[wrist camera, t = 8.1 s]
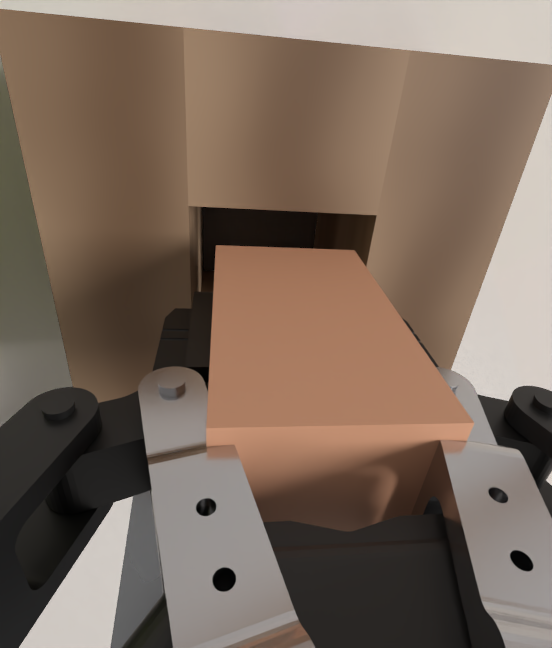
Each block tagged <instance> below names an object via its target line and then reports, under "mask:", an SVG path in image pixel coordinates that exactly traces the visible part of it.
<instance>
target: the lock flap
mask: <svg viewBox="0 0 552 648" xmlns="http://www.w3.org/2000/svg"><path fill="white" fill-rule="evenodd" d="M162 595H163V589H162V581H161V573H160V565H159V557H158V549H157V541H156V534H155V526H154V518H153V511H152V503H151V495H150V491H147V492H144V493H141V494H138V495H135V496H133V501H132V508H131V515H130V521H129V528H128V535H127V541H126V548H125V555H124V561H123V568H122V575H121V582H120V588H119V595H118V602H117V608H116V615H115V622H114V628H113V635H112V642H111V648H121V647H122V646H123V645H124V644H125V642H126V641H127V640H128V638H129V637H130V636H131V635H132V633H133V632H134V631H135V629H136V628H137V627H138V626H139V624H140V623H141V622H142V620H143V619H144V618H145V617H146V615H147V614H148V613H149V612H150V610H151V609H152V608H153V606H154V605H155V604H156V603H157V601H158V600H159V599H160V597H161V596H162Z"/></svg>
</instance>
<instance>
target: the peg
mask: <svg viewBox="0 0 552 648" xmlns="http://www.w3.org/2000/svg"><path fill="white" fill-rule="evenodd" d="M473 426H474V422H473V420H472V419H471V417H470V416H469V414H468V413H467V412H466V410H465V409H464V407H463V406H462V404H461V403H460V401H459V400H458V399H457V397H456V396H455V394H454V393H453V391H452V390H451V388H450V387H449V386H448V384H447V383H446V381H445V380H444V378H443V377H442V376H441V374H440V373H439V371H438V370H437V368H436V367H435V365H434V364H433V363H432V361H431V360H430V358H429V357H428V355H427V354H426V352H425V351H424V350H423V348H422V347H421V345H420V344H419V342H418V341H417V339H416V338H415V337H414V335H413V334H412V332H411V331H410V329H409V328H408V327H407V325H406V324H405V322H404V321H403V319H402V318H401V316H400V315H399V314H398V312H397V311H396V309H395V308H394V306H393V305H392V303H391V302H390V301H389V299H388V298H387V296H386V295H385V293H384V292H383V290H382V289H381V288H380V286H379V285H378V283H377V282H376V280H375V279H374V278H373V276H372V275H371V273H370V272H369V270H368V269H367V267H366V266H365V265H364V263H363V262H362V260H361V259H360V257H359V256H358V254H357V253H356V252H355V250H337V249H309V248H281V247H253V246H225V245H216V251H215V271H214V290H213V309H212V328H211V347H210V366H209V385H208V404H207V423H206V447H211V446H222V445H235V447H236V450H237V452H238V455H239V458H240V461H241V463H242V466H243V469H244V472H245V474H246V477H247V480H248V483H249V485H250V488H251V491H252V494H253V497H254V499H255V502H256V505H257V508H258V510H259V513H260V516H261V519H262V521H263V522H276V521H294V522H299V523H305V524H310V525H315V526H320V527H325V528H330V529H335V530H340V531H347V532H348V531H355V530H358V529H361V528H364V527H367V526H370V525H373V524H376V523H379V522H382V521H385V520H388V519H391V518H394V517H397V516H406V515H411V513H412V511H413V508H414V505H415V503H416V500H417V498H418V495H419V493H420V490H421V488H422V485H423V482H424V480H425V477H426V475H427V472H428V470H429V467H430V464H431V462H432V459H433V457H434V454H435V452H436V449H437V447H438V444H439V441H440V440H455V441H467V439H468V437H469V435H470V432H471V430H472V428H473Z"/></svg>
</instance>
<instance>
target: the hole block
mask: <svg viewBox="0 0 552 648" xmlns="http://www.w3.org/2000/svg"><path fill="white" fill-rule="evenodd" d="M0 55H1V59H2V64H3V69H4V73H5V78H6V82H7V87H8V92H9V96H10V101H11V105H12V110H13V114H14V119H15V124H16V128H17V133H18V137H19V142H20V146H21V151H22V156H23V160H24V165H25V169H26V174H27V179H28V183H29V188H30V192H31V197H32V201H33V206H34V211H35V215H36V220H37V224H38V229H39V234H40V238H41V243H42V247H43V252H44V256H45V261H46V266H47V270H48V275H49V279H50V284H51V289H52V293H53V298H54V302H55V307H56V311H57V316H58V321H59V325H60V330H61V334H62V339H63V343H64V348H65V353H66V357H67V362H68V366H69V371H70V376H71V380H72V385H73V387H76V388H82V389H85V390H88V391H90V392H91V393H93V394H94V395H95V397H96V398H97V401H98V403H100V402H104V401H109V400H113V399H117V398H121V397H125V396H127V395H130V394H132V393H134V392H136V391H138V387H139V384H140V382H141V380H142V379H143V378H144V377H145V376H146V375H148V374H149V373H151V372H152V371H153V367H154V362H155V358H156V354H157V350H158V345H159V341H160V337H161V333H162V329H163V324H164V320H165V317H166V316H167V315H168V314H169V313H171V312H172V311H173V310H174V309H175V308H188V309H192V304H193V297H194V292H213V290H214V271H211V270H203V220H202V207H217V208H238V209H258V210H279V211H299V212H318V216H317V223H316V231H315V239H314V246H313V249H337V250H355V252H356V253H357V254H358V256H359V257H360V259H361V260H362V262H363V263H364V265H365V266H366V267H367V269H368V270H369V272H370V273H371V275H372V276H373V278H374V279H375V280H376V282H377V283H378V285H379V286H380V288H381V289H382V290H383V292H384V293H385V295H386V296H387V298H388V299H389V301H390V302H391V303H392V305H393V306H394V308H395V309H396V311H397V312H398V314H399V315H400V316H401V318H403V319H404V320H406V321H407V322H408V324H409V325H410V326H411V328H412V329H413V331H414V334H416V335H417V336H418V338H419V339H420V343H423V345H424V346H425V348H426V349H427V350H428V352H429V353H430V355H431V356H432V358H433V359H434V360H435V362H436V363H437V365H438V366H439V367H441V368H445V369H449V370H451V368H452V365H453V362H454V359H455V357H456V354H457V351H458V348H459V346H460V343H461V340H462V338H463V335H464V332H465V329H466V327H467V324H468V321H469V318H470V316H471V313H472V310H473V307H474V305H475V302H476V299H477V297H478V294H479V291H480V288H481V286H482V283H483V280H484V277H485V275H486V272H487V269H488V266H489V264H490V261H491V258H492V255H493V253H494V250H495V247H496V245H497V242H498V239H499V236H500V234H501V231H502V228H503V225H504V223H505V220H506V217H507V214H508V212H509V209H510V206H511V204H512V201H513V198H514V195H515V193H516V190H517V187H518V184H519V182H520V179H521V176H522V173H523V171H524V168H525V165H526V163H527V160H528V157H529V154H530V152H531V149H532V146H533V143H534V141H535V138H536V135H537V132H538V130H539V127H540V124H541V122H542V119H543V116H544V113H545V111H546V108H547V105H548V102H549V100H550V97H551V94H552V65H548V64H538V63H528V62H518V61H508V60H499V59H489V58H479V57H469V56H459V55H449V54H439V53H430V52H420V51H410V50H400V49H390V48H380V47H370V46H361V45H351V44H341V43H331V42H321V41H311V40H301V39H292V38H282V37H272V36H262V35H252V34H242V33H232V32H222V31H213V30H203V29H193V28H183V27H173V26H163V25H153V24H144V23H134V22H124V21H114V20H104V19H94V18H84V17H75V16H65V15H55V14H45V13H35V12H25V11H15V10H5V9H0Z"/></svg>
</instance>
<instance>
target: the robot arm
mask: <svg viewBox="0 0 552 648" xmlns="http://www.w3.org/2000/svg"><path fill="white" fill-rule="evenodd" d="M212 309H213V292H194V297H193V304H192V309H188V308H175V309H174V310H173V311H172V312H171V313H169V314H168V315H167V316H166V317H165V320H164V324H163V329H162V333H161V337H160V341H159V345H158V350H157V354H156V358H155V362H154V367H153V371H152V372H151V373H149V374H148V375H146V376H145V377H144V378H143V379H142V380H141V382H140V384H139V387H138V391H136V392H134V393H132V394H130V395H127V396H125V397H121V398H117V399H113V400H109V401H104V402H100V403H98V401H97V398H96V397H95V395H94V394H93V393H91V392H90V391H88V390H85V389H82V388H76V387H66V388H59V389H54V390H51V391H48V392H45V393H43V394H41V395H39V396H37V397H35V398H34V399H32V400H31V401H30V402H28V403H27V404H26V405H25V406H24V407H23V408H22V409H20V410H19V411H18V412H17V413H16V414H15V415H14V416H13V417H11V418H10V419H9V420H8V421H7V422H6V423H5V424H3V425H2V426H1V427H0V648H19V646H20V645H21V643H22V642H23V640H24V639H25V637H26V636H27V634H28V633H29V631H30V630H31V628H32V627H33V625H34V624H35V622H36V621H37V619H38V618H39V616H40V615H41V613H42V612H43V610H44V608H45V607H46V605H47V604H48V602H49V601H50V599H51V598H52V596H53V595H54V593H55V592H56V590H57V589H58V587H59V586H60V584H61V583H62V581H63V580H64V578H65V577H66V575H67V574H68V572H69V571H70V569H71V568H72V566H73V565H74V563H75V562H76V560H77V559H78V557H79V556H80V554H81V553H82V551H83V550H84V548H85V547H86V545H87V544H88V542H89V541H90V539H91V537H92V536H93V534H94V533H95V531H96V530H97V528H98V527H99V525H100V524H101V522H102V521H103V519H104V518H105V516H106V515H107V513H108V512H109V510H110V509H111V507H112V505H113V502H116V501H119V500H122V499H125V498H128V497H132V496H135V495H138V494H141V493H144V492H147V491H150V495H151V503H152V511H153V518H154V526H155V534H156V541H157V549H158V557H159V565H160V573H161V581H162V589H163V595H162V596H161V597H160V599H159V600H158V601H157V603H156V604H155V605H154V606H153V608H152V609H151V610H150V612H149V613H148V614H147V615H146V617H145V618H144V619H143V620H142V622H141V623H140V624H139V626H138V627H137V628H136V629H135V631H134V632H133V633H132V635H131V636H130V637H129V638H128V640H127V641H126V642H125V644H124V645H123V646H122V647H121V648H552V486H551V485H550V484H549V483H548V482H547V481H546V479H547V478H548V476H549V474H550V473H551V471H552V391H549V390H547V389H544V388H540V387H534V386H522V387H518V388H516V389H515V390H514V391H513V393H512V395H511V397H510V400H509V401H505V400H500V399H495V398H491V397H486V396H481V395H477V393H476V391H475V388H474V387H473V385H472V384H471V383H470V382H469V381H468V380H467V379H466V378H465V377H463V376H462V375H460V374H458V373H456V372H454V371H451V370H449V369H445V368H441V367H439V366H438V365H437V363H436V362H435V360H434V359H433V358H432V356H431V355H430V353H429V352H428V350H427V349H426V348H425V346H424V345H423V343H420V339H419V338H418V336H417V335H416V334H414V331H413V329H412V328H411V326H410V325H409V324H408V322H407V321H406V320H404V319H403V318H402V319H403V321H404V322H405V324H406V325H407V327H408V328H409V329H410V331H411V332H412V334H413V335H414V337H415V338H416V339H417V341H418V342H419V344H420V345H421V347H422V348H423V350H424V351H425V352H426V354H427V355H428V357H429V358H430V360H431V361H432V363H433V364H434V365H435V367H436V368H437V370H438V371H439V373H440V374H441V376H442V377H443V378H444V380H445V381H446V383H447V384H448V386H449V387H450V388H451V390H452V391H453V393H454V394H455V396H456V397H457V399H458V400H459V401H460V403H461V404H462V406H463V407H464V409H465V410H466V412H467V413H468V414H469V416H470V417H471V419H472V420H473V422H474V426H473V428H472V430H471V432H470V435H469V437H468V439H467V441H455V440H440V441H439V444H438V447H437V449H436V452H435V454H434V457H433V459H432V462H431V464H430V467H429V470H428V472H427V475H426V477H425V480H424V482H423V485H422V488H421V490H420V493H419V495H418V498H417V500H416V503H415V505H414V508H413V511H412V513H411V515H406V516H397V517H394V518H391V519H388V520H385V521H382V522H379V523H376V524H373V525H370V526H367V527H364V528H361V529H358V530H355V531H348V532H347V531H340V530H335V529H330V528H325V527H320V526H315V525H310V524H305V523H299V522H294V521H276V522H263V521H262V519H261V516H260V513H259V510H258V508H257V505H256V502H255V499H254V497H253V494H252V491H251V488H250V485H249V483H248V480H247V477H246V474H245V472H244V469H243V466H242V463H241V461H240V458H239V455H238V452H237V450H236V447H235V445H222V446H211V447H206V423H207V404H208V385H209V366H210V347H211V328H212Z"/></svg>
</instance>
